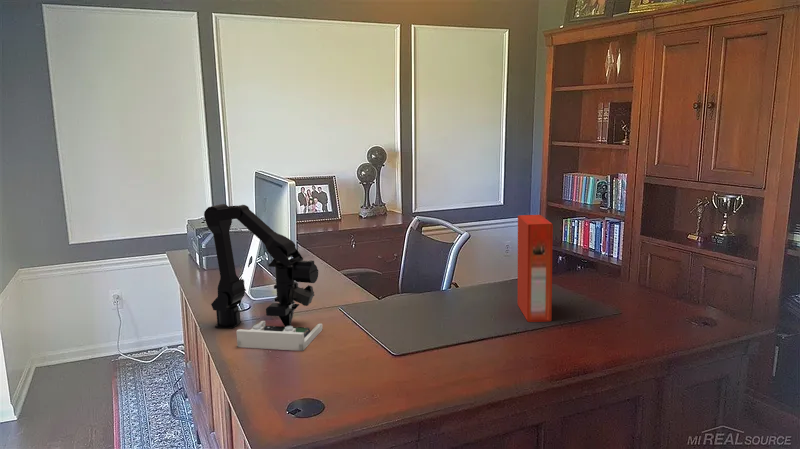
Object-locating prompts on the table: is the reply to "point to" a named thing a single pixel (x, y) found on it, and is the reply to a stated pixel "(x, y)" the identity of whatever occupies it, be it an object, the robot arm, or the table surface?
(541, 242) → the file binder
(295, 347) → the dock
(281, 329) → the disk drive
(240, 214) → the robot arm
